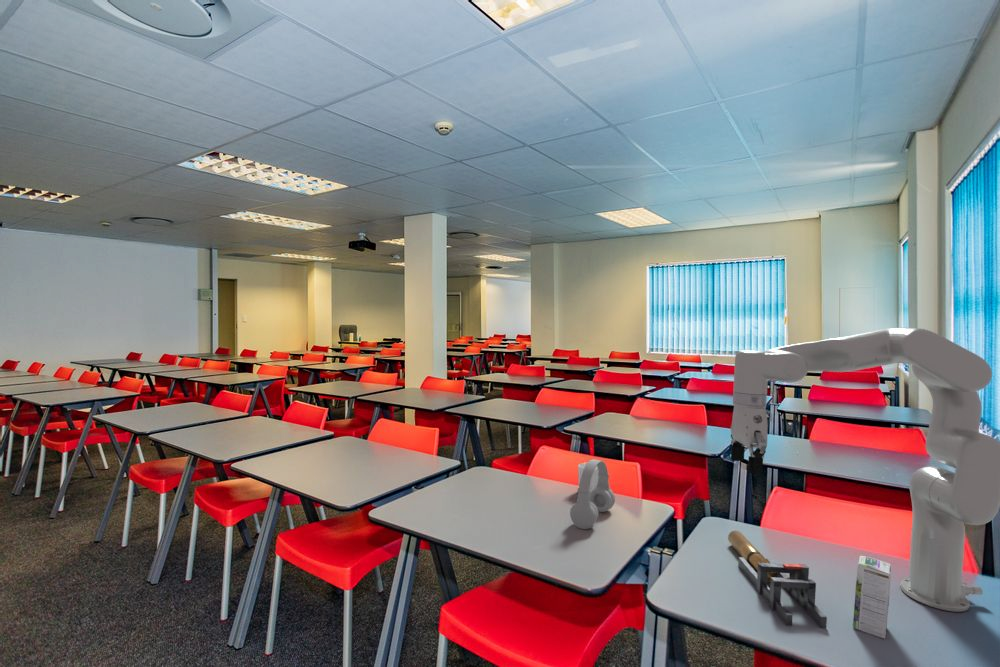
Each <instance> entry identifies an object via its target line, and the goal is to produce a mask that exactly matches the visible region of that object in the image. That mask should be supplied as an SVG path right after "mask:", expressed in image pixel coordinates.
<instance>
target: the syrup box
mask: <svg viewBox="0 0 1000 667" xmlns="http://www.w3.org/2000/svg"><path fill="white" fill-rule="evenodd" d="M891 576H892V564H890V563H889V562H886V561H883V560H880V559H877V558H873V557H869V556H867V555H866V556H864V555H859V559H858V565H857V573H856V581H855V591H854V604H853V605H854V606H853V621H852V628H853V629H855V630H857V631H860V632H863V633H867V634H869V635H872V636H874V637H875V636H876V637H878V638H882V639H884V640H885V639H886V637H887V630H888V629H887V627H888V615H889V606H890V605H889V604H890V603H889V602H890V591H891V590H890V589H891V579H892V578H891Z"/></svg>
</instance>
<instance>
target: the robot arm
mask: <svg viewBox="0 0 1000 667" xmlns="http://www.w3.org/2000/svg"><path fill="white" fill-rule="evenodd" d="M893 364H894V365H895V364H905V365H911V368H912V373H913V375H914V376H915V377H916V379H918V380H919V381H920V382H921V383H922V384H923V385H924V386H925V387H926V388H927V390H928V391H929V393H930V396H931V398H932V410H931V417H930V420H929V425H928V429H927V435H926V440H925V450H926V453H927V454H928V456H929V457H931V458H932V459H933V460H935V461H937V462H938V463H941V464H944V465H946V466H949V467H951V468H953V469H954V470H955V472H954V471H951V470H948V469H945V468H943V467H939V466H931V465H930V466H923V467H921V468H919V469H917V470H916V471H914V472H913V473H912V475H911V477H910V480H909V492H910V498H911V500H910V501H911V506H912V522H911V523H912V524H911V534H910V538H911V539H910V552H909V553H910V554H909V566H908V569H909V570H908V577H907V578H904V579H901V581H900V583H899V588H900V590H901V591H902V592H904V594H906V596H909V597H910V598H912V599H913V600H915V601H917V602H919V603H921V604H923V605H926V606H929V607H932V608H934V609H935V608H936V609H938V610H941V611H942V610H943V611H948V612H955V613H956V612H957V613H958V612H959V613H960V612H967V611H968V610H969V609H970V601H969V600H968V598H967V597H966V596H969V595H974V596H976V595H977V596H980V595H981V596H982V595H983V594H984V593H983V592H984V591H983V588H982V587H981V586H979V585H968V584H967V582H966V581H965V580H963V569H964V568H963V566H964V554H965V552H964V551H965V541H966V540H965V539H966V528H965V524H966V525H970V526H971V525H972V526H982V525H985V524H988V523H989V522H991V521H992V520H993V519H994V518H995V517H996V516H997V514H998V512H999V509H1000V441H999V440H998V439H996V438H994V437H993V436H990V435H987V434H984V433H981V432H980V425H981V418H982V417H981V415H982V402H981V398H980V396H979V393H978V391H981V390H984V389H985V388H987V386H988V385H989V384H990V383H991V381H992V377H993V371H992V368H991V366H990V365H989V363H988V362H987V361H986V360H985V359H984V358H983V357H981V356H979V355H978V354H976V353H974V352H973V351H970V350H968V349H966V348H965V347H963V346H961V345H959V344H957V343H956V342H953V341H951V340H949V339H948V338H946V337H944V336H942V335H940V334H938V333H936V332H934V331H932V330H929V329H925V328H918V327H890V328H888V327H887V328H884V329H878V330H874V331H868V332H864V333H863V332H862V333H858V334H851V335H848V336H842V337H835V338H829V339H828V338H827V339H822V340H817V341H809V342H802V343H796V344H795V343H794V344H790V345H784V346H780V347H775V348H770V349H768V350H766V351H761V350H753V349H751V350H749V349H748V350H746V349H743V350H742V349H741V350H739V351H737V352H736V354H735V357H734V373H733V393H732V405H734V406H733V411H732V419H731V420H732V421H731V425H730V438H731V441H730V444H731V445H730V446H731V448H730V449H731V451H730V460H731V461H733V462H744V460H745V452H746V451H745V450H746V448H748V452H749V455H750V456H748V462H747V463H748V464H747V472H748V473H749V474H758V475H759V474H763V467H764V465H763V464H764V459H765V454H766V453H767V452H766V450H767V446H768V414H767V409H766V408H767V400H768V399H767V398H768V385H769V384H768V381H775V382H781V383H786V384H791V383H796V382H799V381H802V379H804V378H805V377H806V376H807V374H808V372H817V371H819V372H831V373H832V372H833V373H835V372H836V373H843V372H844V373H845V372H847V373H848V372H849V373H850V372H856V371H860V370H861V371H862V370H865V369H871V368H877V367H882V366H888V365H893ZM754 449H755V450H754Z"/></svg>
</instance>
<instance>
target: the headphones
mask: <svg viewBox="0 0 1000 667" xmlns="http://www.w3.org/2000/svg"><path fill="white" fill-rule="evenodd" d="M586 463H587V464H586V466H585V468H584V470H583V473H582V476H581V480H580V485H579V484H578V488H577V492H578V494H577V498H576V502H575V503H573V505H571V508H570V511H569V516H570V520H571V522H572V523H573V525H575V527H577V528H578V529H581V530H588V529H591V528H592V527H593V526H594V525H595V524H596V522H598V518H599V513H605V512H607V511H609V510H610V509H611V508H613V506H614V504H615V501H616V496H615V493H614V492H613V490H612V489H611V487H610V482H609V479H610V474H609V473H608V472H609V471H608V468H607V465H606V462H605V461H603V460H599V459H594V458H593V459H590V460H589V461H588V462H586ZM596 466H597V467H598V472H599V473H598V476H599V478H598V483H597V486H596V487H595V488H594V489H593V490H592V491H591V492H590V491H589V487H590V482H591V478H592V475H593V472H594V470H595V468H596ZM589 493H590V494H589Z"/></svg>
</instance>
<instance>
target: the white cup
mask: <svg viewBox="0 0 1000 667" xmlns="http://www.w3.org/2000/svg"><path fill="white" fill-rule="evenodd" d="M587 463H588V462H584V463H579V464H578V465H577V466H578V468H577V471H578V486H579V485H580V480H581V476H582V473H583V470H584V468H585V466H586V464H587ZM598 473H599V472H598V467H597V466H596V468H595V470H594V472H593V475H592V478H591V482H590V487H589V491H590V492H591V491H592V490H593V489H594V488H595V487H596V486H597V483H598V478H599V476H598ZM589 494H590V493H589Z"/></svg>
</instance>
